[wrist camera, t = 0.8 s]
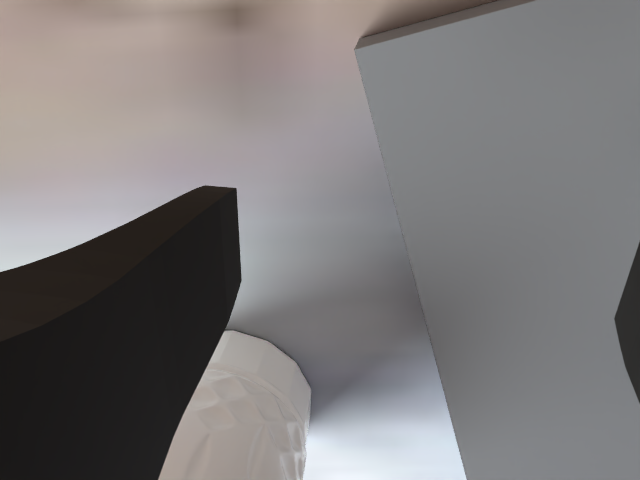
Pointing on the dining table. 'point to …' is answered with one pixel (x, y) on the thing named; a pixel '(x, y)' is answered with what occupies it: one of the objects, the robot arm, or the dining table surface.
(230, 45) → the dining table surface
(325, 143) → the dining table surface
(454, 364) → the dial board
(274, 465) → the white cup
